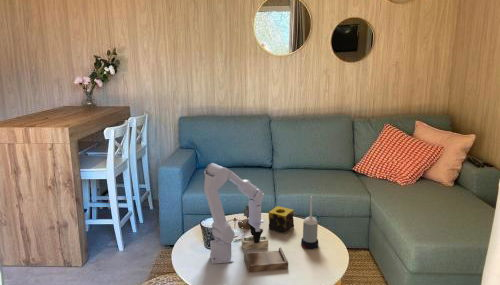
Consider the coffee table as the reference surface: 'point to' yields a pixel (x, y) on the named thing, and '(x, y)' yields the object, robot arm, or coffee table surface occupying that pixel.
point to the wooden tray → (266, 261)
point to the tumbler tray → (249, 243)
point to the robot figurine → (245, 223)
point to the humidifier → (310, 231)
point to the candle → (281, 219)
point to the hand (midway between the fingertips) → (255, 238)
